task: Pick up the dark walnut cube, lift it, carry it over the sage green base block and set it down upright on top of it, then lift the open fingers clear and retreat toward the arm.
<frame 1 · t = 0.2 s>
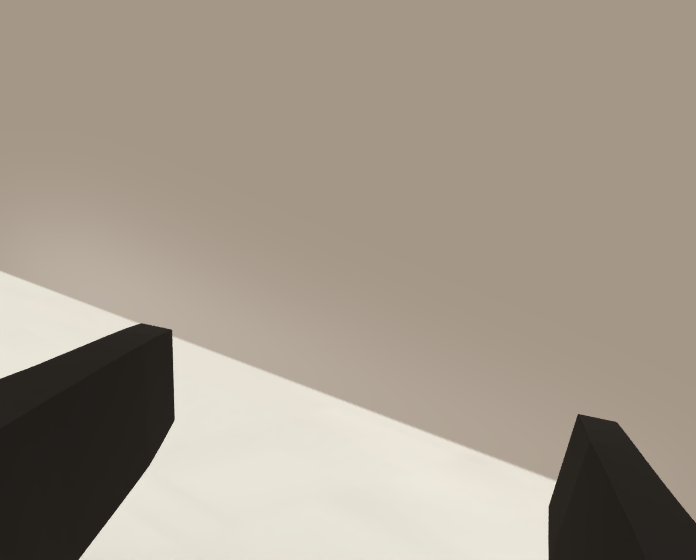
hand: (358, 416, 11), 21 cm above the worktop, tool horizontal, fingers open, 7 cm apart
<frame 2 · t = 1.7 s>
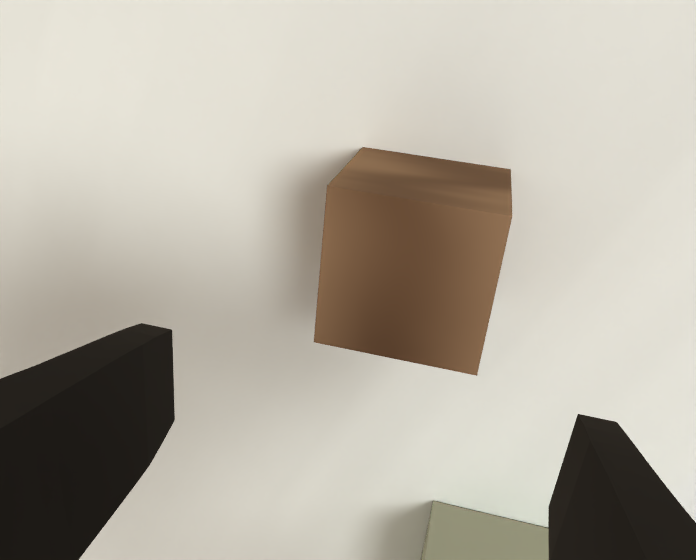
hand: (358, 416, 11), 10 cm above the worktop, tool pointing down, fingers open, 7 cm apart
walnut cube: (424, 226, 20), on the worktop
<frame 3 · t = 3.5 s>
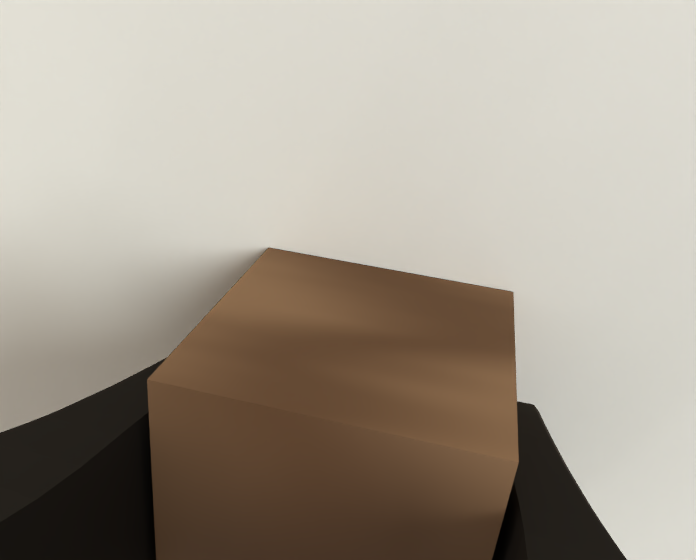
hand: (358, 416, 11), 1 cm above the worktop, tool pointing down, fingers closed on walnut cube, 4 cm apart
walnut cube: (372, 373, 12), on the worktop, touching gripper
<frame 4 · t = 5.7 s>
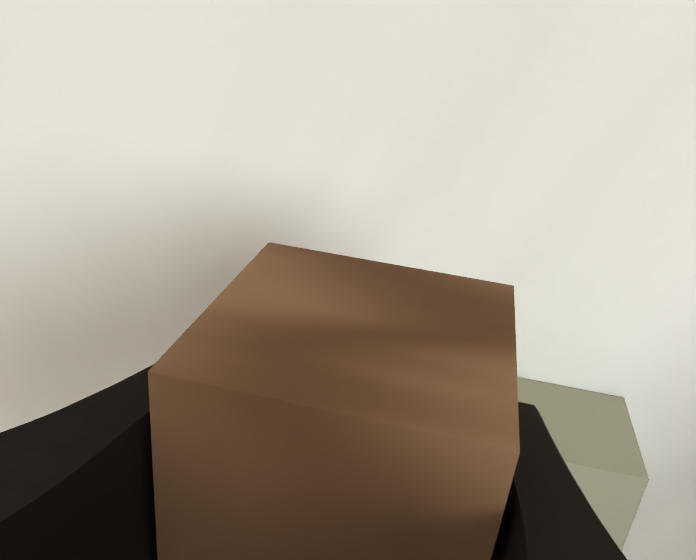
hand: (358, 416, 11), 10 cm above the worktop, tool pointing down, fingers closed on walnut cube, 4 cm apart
sage base block: (483, 463, 24), on the worktop
walnut cube: (373, 367, 12), point 9 cm above the worktop, touching gripper
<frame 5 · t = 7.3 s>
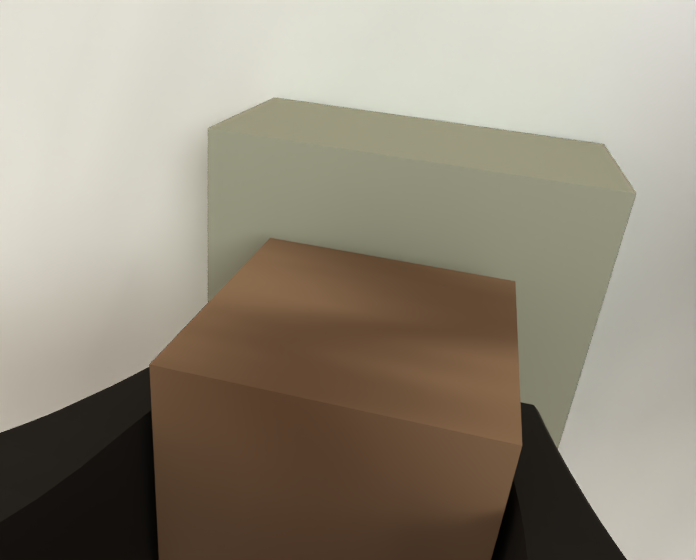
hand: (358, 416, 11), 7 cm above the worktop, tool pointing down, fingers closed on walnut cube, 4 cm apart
sage base block: (409, 269, 17), on the worktop
walnut cube: (374, 363, 12), point 5 cm above the worktop, touching gripper
when the fingers open (6 cm above the worktop, at t = 8.3 s): walnut cube stays where it is, resting on sage base block.
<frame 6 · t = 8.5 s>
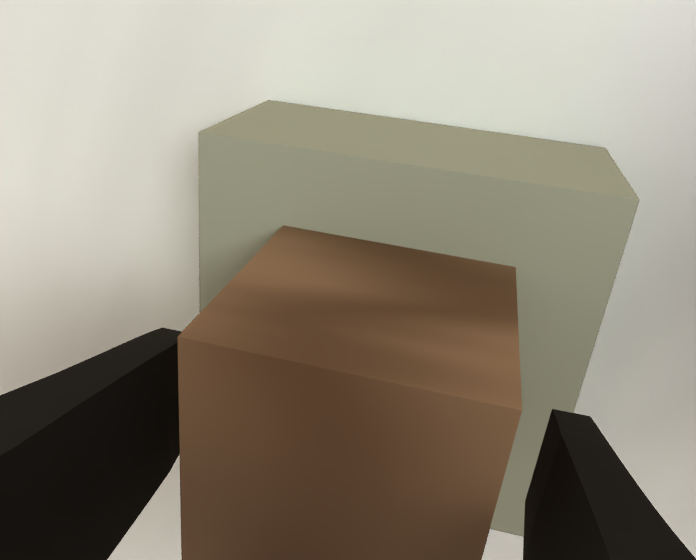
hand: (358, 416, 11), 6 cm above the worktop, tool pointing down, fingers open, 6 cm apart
sage base block: (406, 275, 17), on the worktop
walnut cube: (381, 346, 13), point 4 cm above the worktop, touching sage base block
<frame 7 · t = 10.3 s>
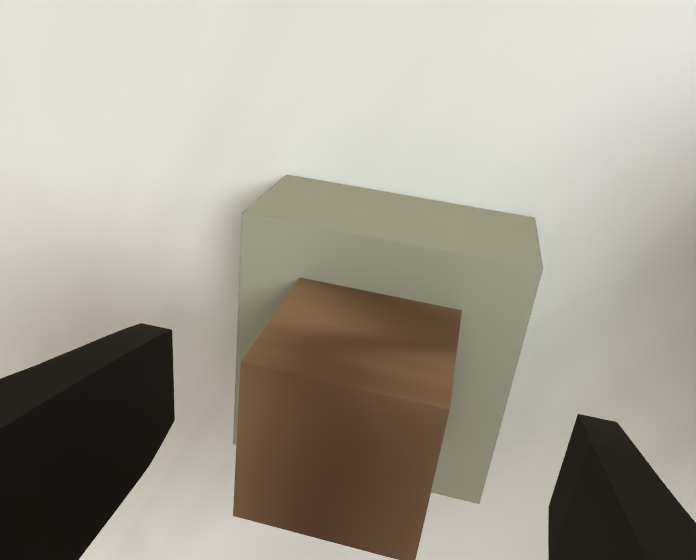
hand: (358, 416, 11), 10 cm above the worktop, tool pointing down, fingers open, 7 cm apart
sage base block: (389, 306, 22), on the worktop
walnut cube: (368, 362, 18), point 4 cm above the worktop, touching sage base block
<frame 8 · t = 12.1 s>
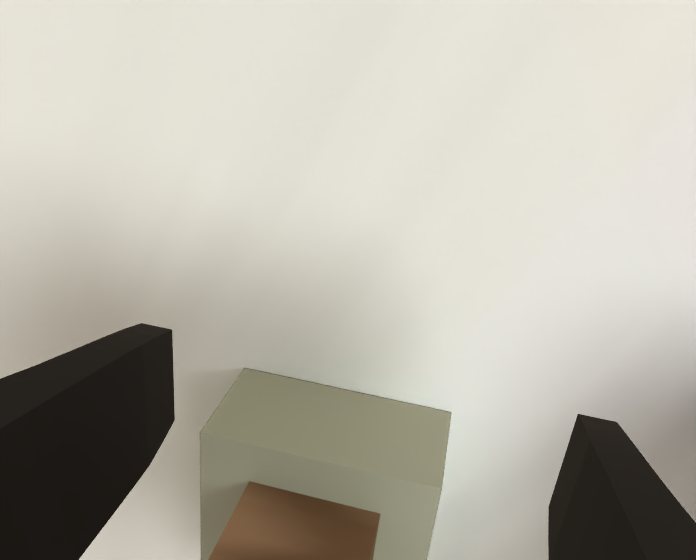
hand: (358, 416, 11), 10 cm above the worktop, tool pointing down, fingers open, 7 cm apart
sage base block: (335, 471, 25), on the worktop
walnut cube: (308, 545, 22), point 4 cm above the worktop, touching sage base block
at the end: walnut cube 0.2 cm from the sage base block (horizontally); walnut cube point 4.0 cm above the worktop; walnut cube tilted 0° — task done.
